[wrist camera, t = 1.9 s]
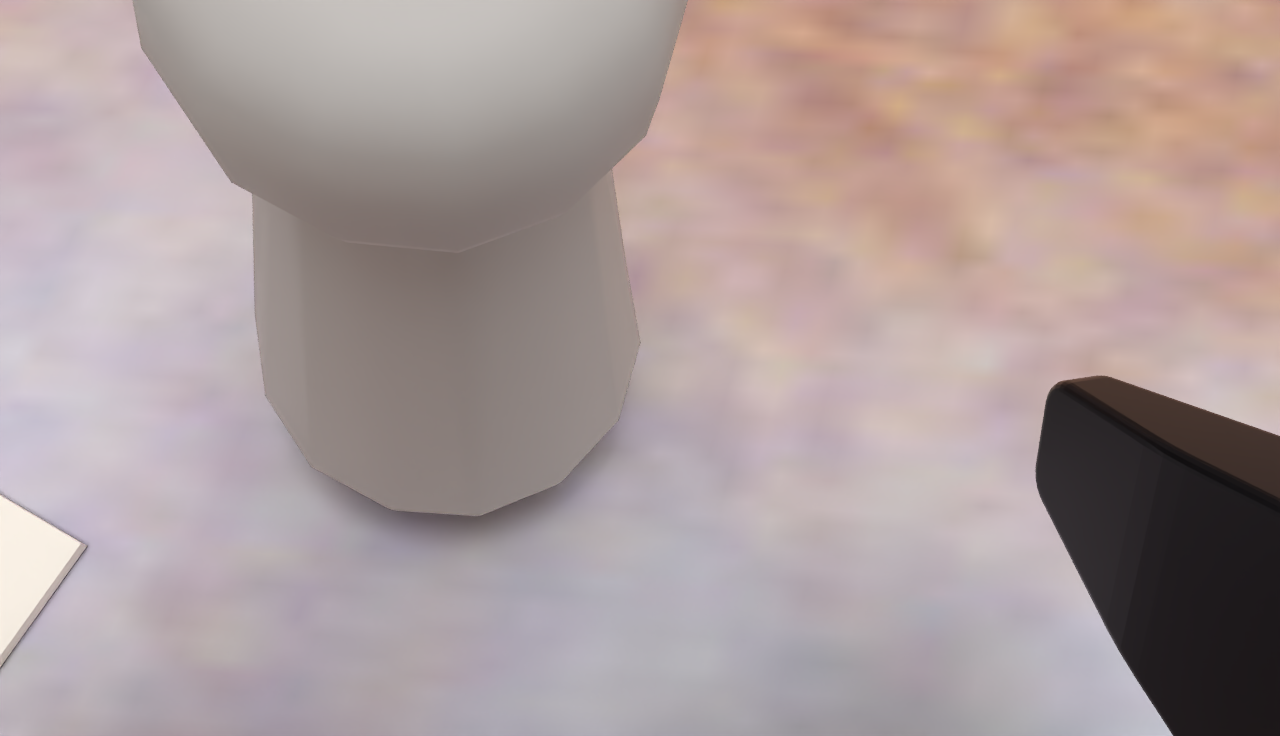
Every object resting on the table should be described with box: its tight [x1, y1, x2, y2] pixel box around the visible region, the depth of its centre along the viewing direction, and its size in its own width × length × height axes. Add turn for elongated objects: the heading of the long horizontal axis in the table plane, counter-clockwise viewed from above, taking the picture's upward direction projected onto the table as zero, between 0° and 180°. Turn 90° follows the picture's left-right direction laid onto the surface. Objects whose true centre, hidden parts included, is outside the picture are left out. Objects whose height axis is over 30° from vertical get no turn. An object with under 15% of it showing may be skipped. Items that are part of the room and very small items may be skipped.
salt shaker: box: [133, 0, 688, 516], centre depth 14 cm, size 6×6×13 cm
